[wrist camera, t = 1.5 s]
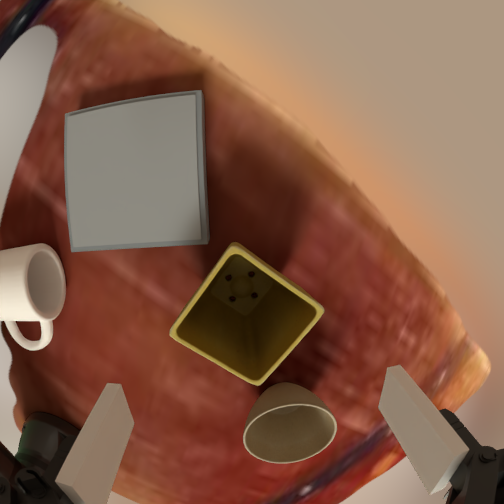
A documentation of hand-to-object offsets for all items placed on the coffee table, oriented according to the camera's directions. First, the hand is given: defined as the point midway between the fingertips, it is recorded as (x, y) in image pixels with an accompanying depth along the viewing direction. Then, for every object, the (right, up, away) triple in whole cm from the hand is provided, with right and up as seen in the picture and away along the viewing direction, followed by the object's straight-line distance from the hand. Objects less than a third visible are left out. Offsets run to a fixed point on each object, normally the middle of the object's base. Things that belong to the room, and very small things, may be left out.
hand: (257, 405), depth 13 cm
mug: (-26, +3, +17) cm, 31 cm away
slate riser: (-12, +15, +15) cm, 24 cm away
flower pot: (-1, +4, +18) cm, 18 cm away
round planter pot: (+3, -11, +21) cm, 24 cm away
